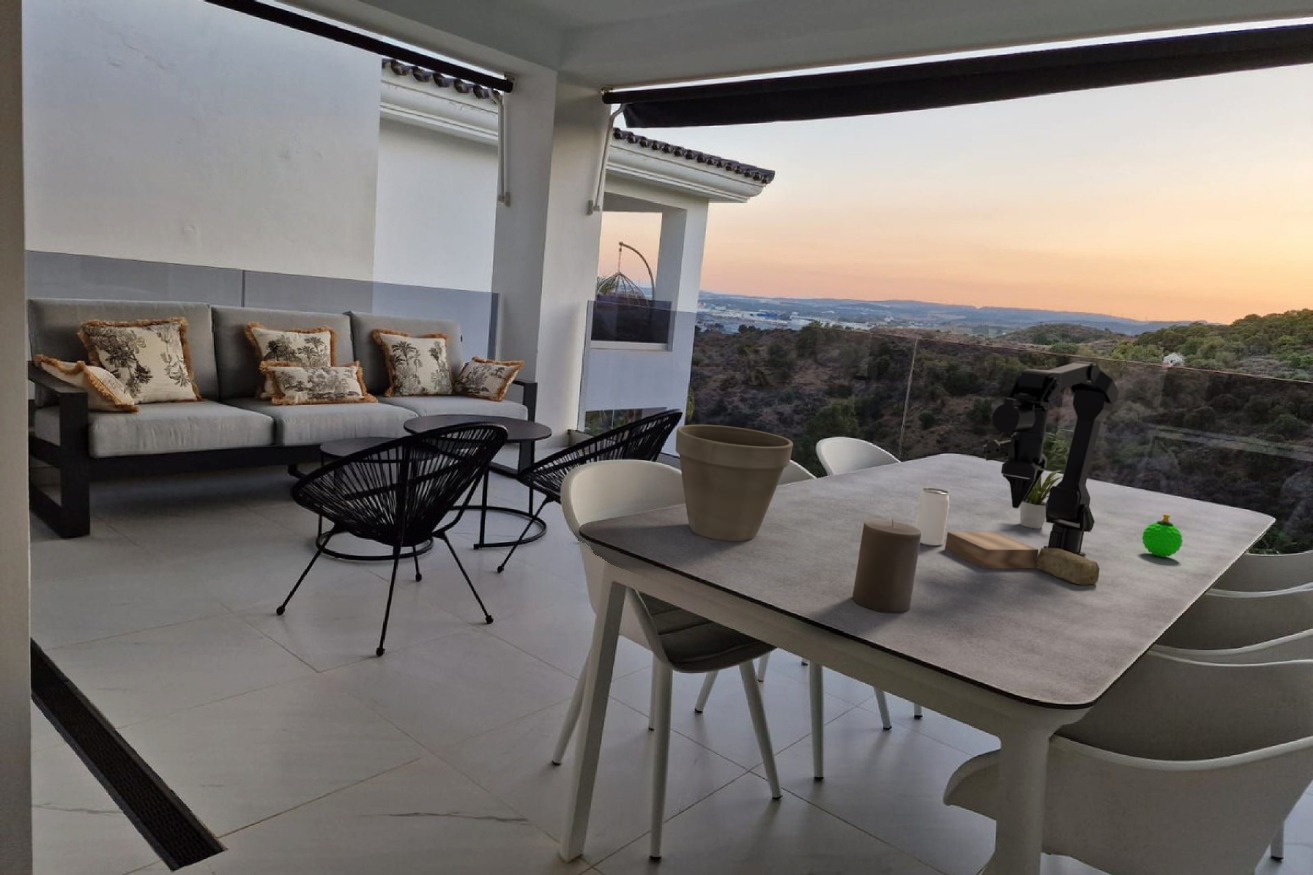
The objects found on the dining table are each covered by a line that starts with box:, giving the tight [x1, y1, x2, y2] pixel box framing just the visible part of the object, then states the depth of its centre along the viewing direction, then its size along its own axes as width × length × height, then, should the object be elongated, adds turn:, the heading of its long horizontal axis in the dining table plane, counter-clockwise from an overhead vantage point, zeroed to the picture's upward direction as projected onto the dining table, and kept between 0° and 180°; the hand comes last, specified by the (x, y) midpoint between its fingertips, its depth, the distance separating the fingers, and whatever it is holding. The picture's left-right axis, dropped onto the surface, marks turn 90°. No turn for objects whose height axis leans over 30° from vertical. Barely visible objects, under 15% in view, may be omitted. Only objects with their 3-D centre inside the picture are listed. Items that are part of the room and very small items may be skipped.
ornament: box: [1141, 513, 1184, 558], centre depth 195 cm, size 8×8×10 cm
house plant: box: [1019, 466, 1063, 530], centre depth 214 cm, size 14×14×16 cm
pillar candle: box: [852, 518, 921, 614], centre depth 143 cm, size 10×10×15 cm
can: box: [914, 487, 950, 547], centre depth 188 cm, size 6×6×12 cm
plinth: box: [944, 531, 1039, 569], centre depth 180 cm, size 13×13×4 cm
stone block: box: [1036, 547, 1101, 586], centre depth 171 cm, size 6×12×5 cm, turn 23°
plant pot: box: [675, 424, 794, 542], centre depth 179 cm, size 25×25×22 cm
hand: (1018, 504), depth 175 cm, fingers open, 9 cm apart
